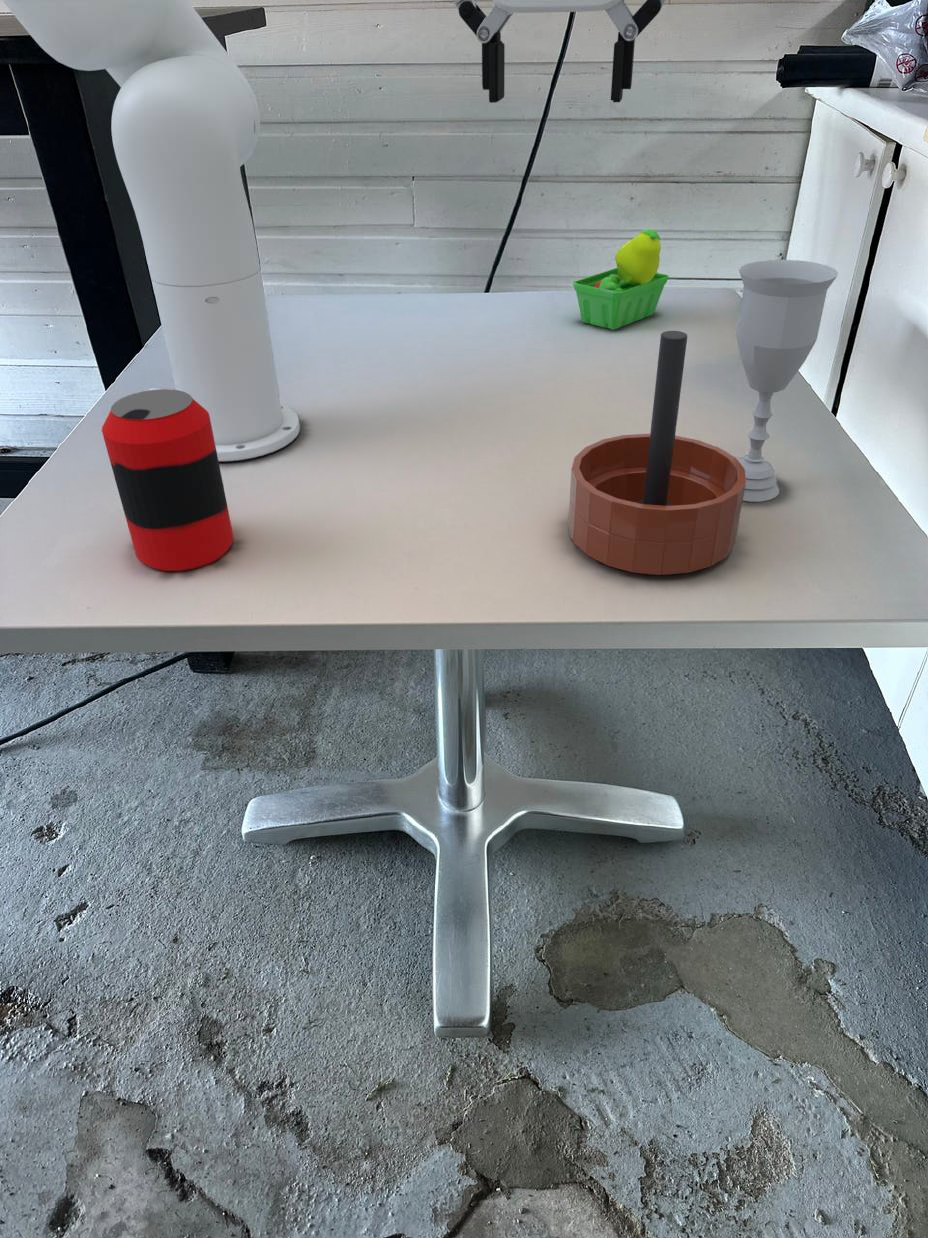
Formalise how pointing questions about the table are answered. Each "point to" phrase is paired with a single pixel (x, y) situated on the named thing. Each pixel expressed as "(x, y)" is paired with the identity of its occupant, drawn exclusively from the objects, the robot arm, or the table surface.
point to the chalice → (776, 345)
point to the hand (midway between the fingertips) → (555, 100)
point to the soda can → (168, 479)
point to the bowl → (655, 506)
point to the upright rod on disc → (664, 417)
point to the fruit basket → (624, 285)
